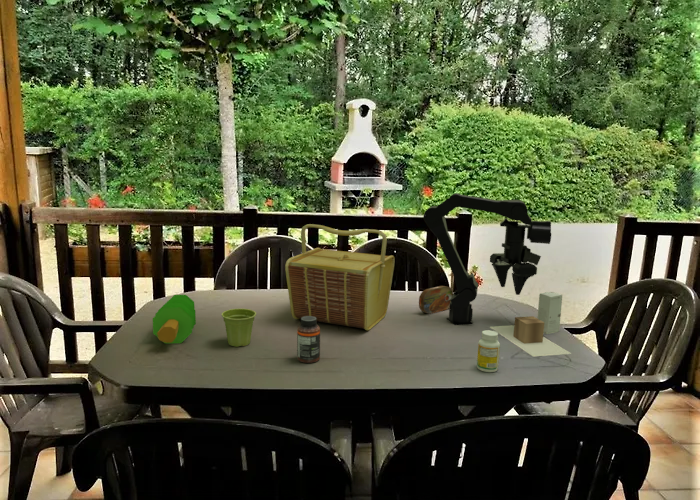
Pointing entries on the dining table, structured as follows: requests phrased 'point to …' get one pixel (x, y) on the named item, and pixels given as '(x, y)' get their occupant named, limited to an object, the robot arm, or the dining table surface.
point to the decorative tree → (175, 320)
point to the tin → (435, 299)
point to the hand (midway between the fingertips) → (510, 290)
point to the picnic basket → (340, 283)
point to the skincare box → (550, 311)
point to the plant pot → (238, 326)
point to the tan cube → (528, 329)
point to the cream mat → (531, 348)
